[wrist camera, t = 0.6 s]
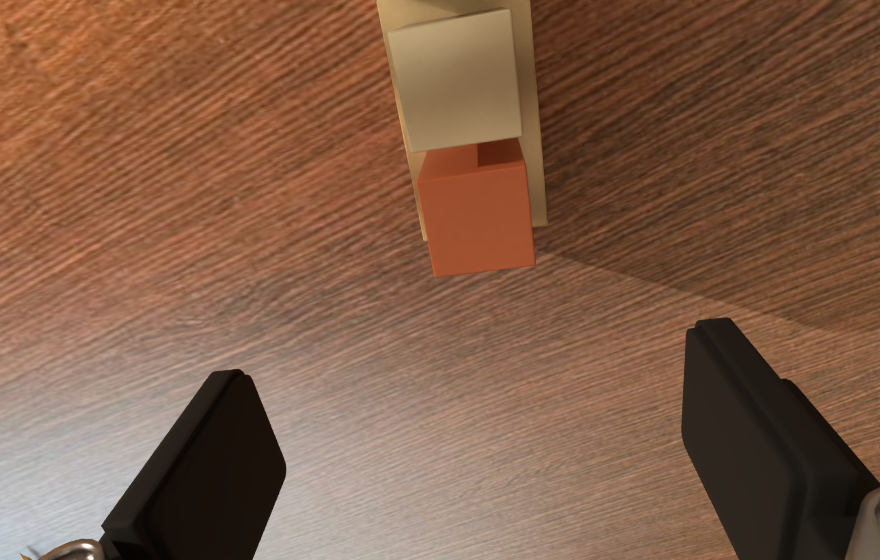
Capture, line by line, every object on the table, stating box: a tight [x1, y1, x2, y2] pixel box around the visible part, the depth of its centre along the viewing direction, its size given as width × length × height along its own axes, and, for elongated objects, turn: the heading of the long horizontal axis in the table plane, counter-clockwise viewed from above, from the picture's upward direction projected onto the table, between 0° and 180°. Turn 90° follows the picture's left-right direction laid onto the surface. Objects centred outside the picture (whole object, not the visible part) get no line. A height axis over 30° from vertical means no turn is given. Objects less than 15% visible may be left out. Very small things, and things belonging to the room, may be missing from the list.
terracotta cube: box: [416, 137, 536, 277], centre depth 22 cm, size 4×4×5 cm
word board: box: [376, 0, 548, 241], centre depth 20 cm, size 15×6×6 cm, turn 10°
